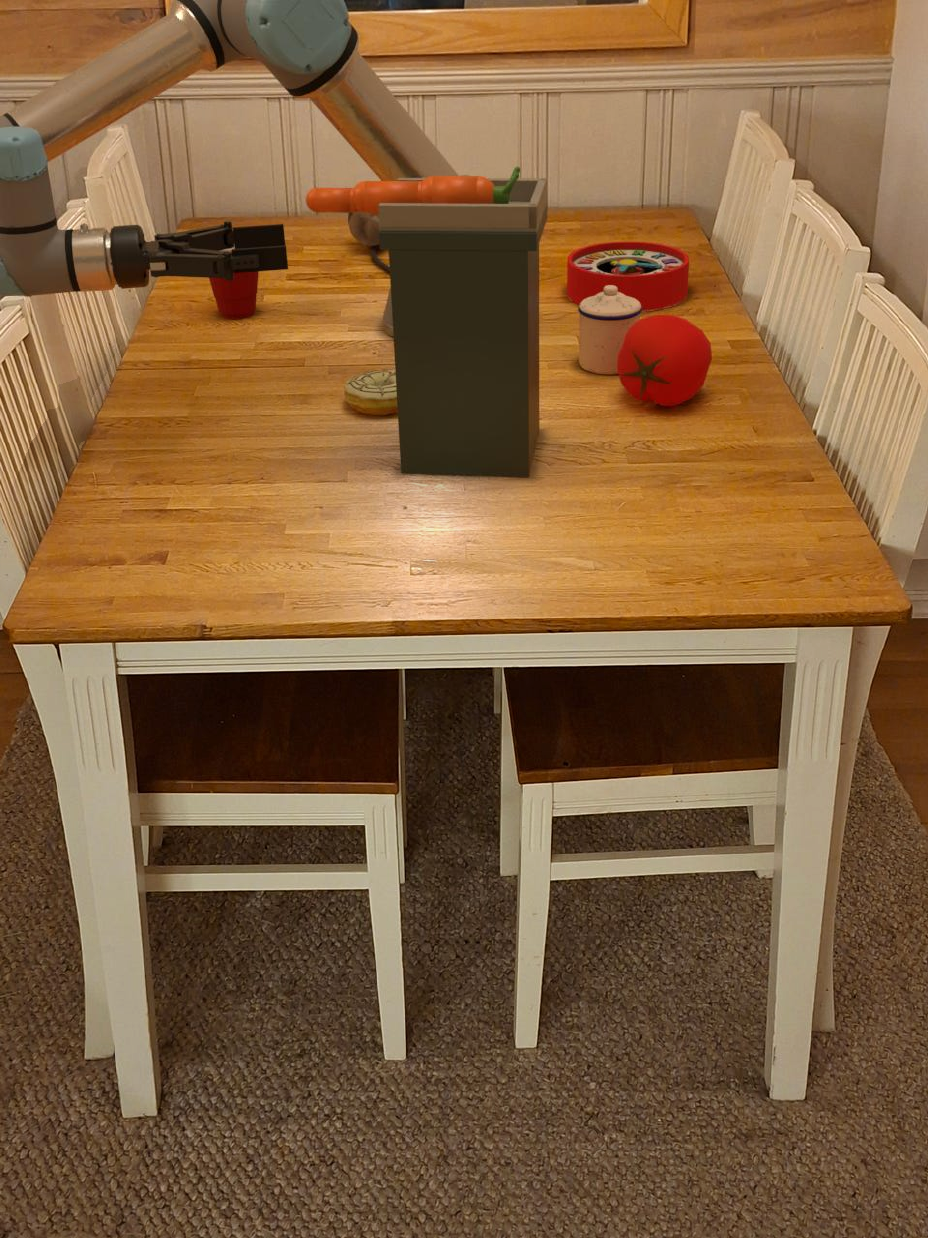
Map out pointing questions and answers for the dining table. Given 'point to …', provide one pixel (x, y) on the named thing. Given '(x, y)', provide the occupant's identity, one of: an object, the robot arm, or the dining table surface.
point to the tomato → (664, 360)
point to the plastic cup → (236, 294)
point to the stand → (467, 330)
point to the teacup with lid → (605, 328)
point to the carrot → (410, 193)
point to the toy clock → (630, 273)
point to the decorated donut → (373, 392)
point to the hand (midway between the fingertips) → (286, 245)
